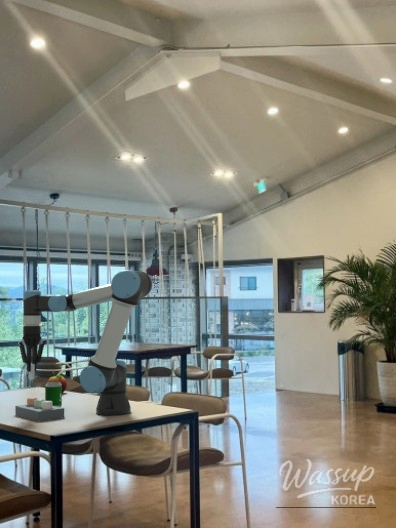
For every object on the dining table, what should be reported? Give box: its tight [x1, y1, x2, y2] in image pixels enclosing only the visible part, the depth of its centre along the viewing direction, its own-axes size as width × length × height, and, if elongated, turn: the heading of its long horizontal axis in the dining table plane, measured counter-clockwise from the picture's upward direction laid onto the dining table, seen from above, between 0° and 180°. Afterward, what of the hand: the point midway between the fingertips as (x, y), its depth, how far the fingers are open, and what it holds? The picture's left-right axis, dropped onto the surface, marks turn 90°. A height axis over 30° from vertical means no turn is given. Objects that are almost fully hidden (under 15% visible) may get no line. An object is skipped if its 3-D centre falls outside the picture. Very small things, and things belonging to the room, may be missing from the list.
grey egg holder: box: [14, 404, 65, 422], centre depth 283 cm, size 22×12×4 cm, turn 40°
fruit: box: [46, 374, 68, 394], centre depth 359 cm, size 11×11×10 cm
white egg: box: [42, 401, 52, 410], centre depth 278 cm, size 4×4×5 cm
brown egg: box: [26, 397, 38, 407], centre depth 289 cm, size 4×4×5 cm
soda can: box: [44, 381, 63, 408], centre depth 305 cm, size 8×8×12 cm
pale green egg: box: [34, 398, 45, 408], centre depth 283 cm, size 4×4×5 cm
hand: (31, 378), depth 289 cm, fingers closed
